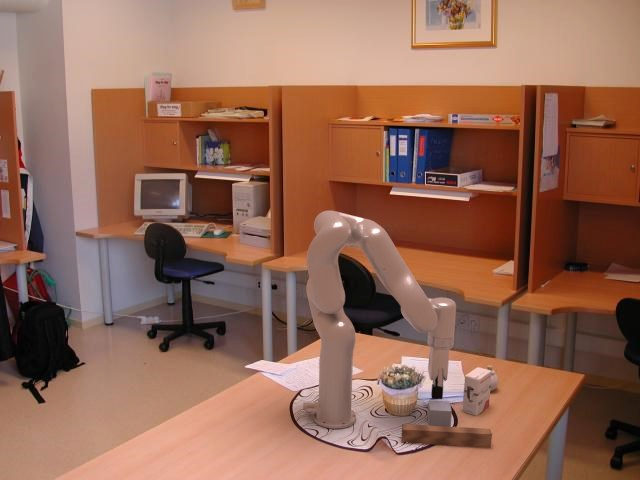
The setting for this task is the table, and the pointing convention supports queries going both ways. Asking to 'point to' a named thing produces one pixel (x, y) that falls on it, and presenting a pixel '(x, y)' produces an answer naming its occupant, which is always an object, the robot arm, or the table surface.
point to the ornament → (493, 377)
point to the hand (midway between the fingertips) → (436, 397)
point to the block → (439, 413)
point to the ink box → (477, 391)
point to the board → (446, 435)
